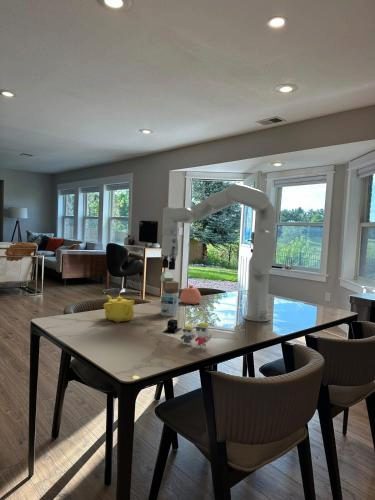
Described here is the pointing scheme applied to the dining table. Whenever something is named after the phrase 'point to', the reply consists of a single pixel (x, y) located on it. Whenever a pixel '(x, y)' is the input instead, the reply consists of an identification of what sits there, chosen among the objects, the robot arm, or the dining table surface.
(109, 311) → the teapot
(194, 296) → the sugar bowl
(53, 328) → the dining table surface
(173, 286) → the block
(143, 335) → the dining table surface
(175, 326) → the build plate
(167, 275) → the cube
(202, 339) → the toy figures
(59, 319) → the dining table surface
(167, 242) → the robot arm
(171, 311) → the light bulb box
